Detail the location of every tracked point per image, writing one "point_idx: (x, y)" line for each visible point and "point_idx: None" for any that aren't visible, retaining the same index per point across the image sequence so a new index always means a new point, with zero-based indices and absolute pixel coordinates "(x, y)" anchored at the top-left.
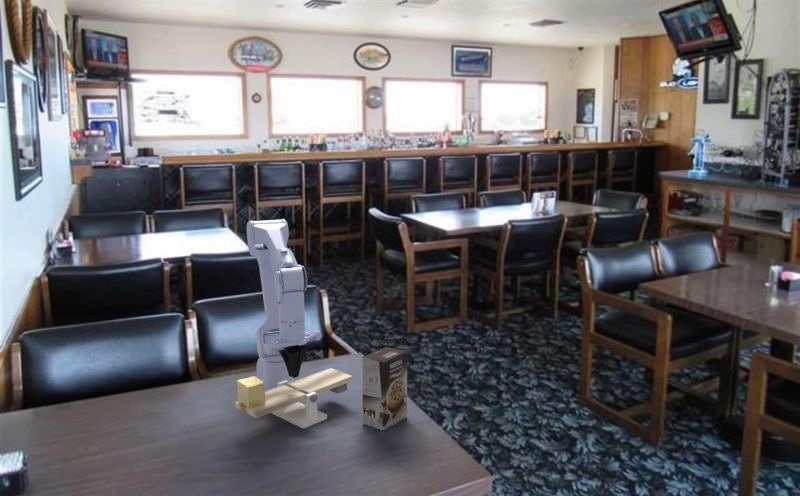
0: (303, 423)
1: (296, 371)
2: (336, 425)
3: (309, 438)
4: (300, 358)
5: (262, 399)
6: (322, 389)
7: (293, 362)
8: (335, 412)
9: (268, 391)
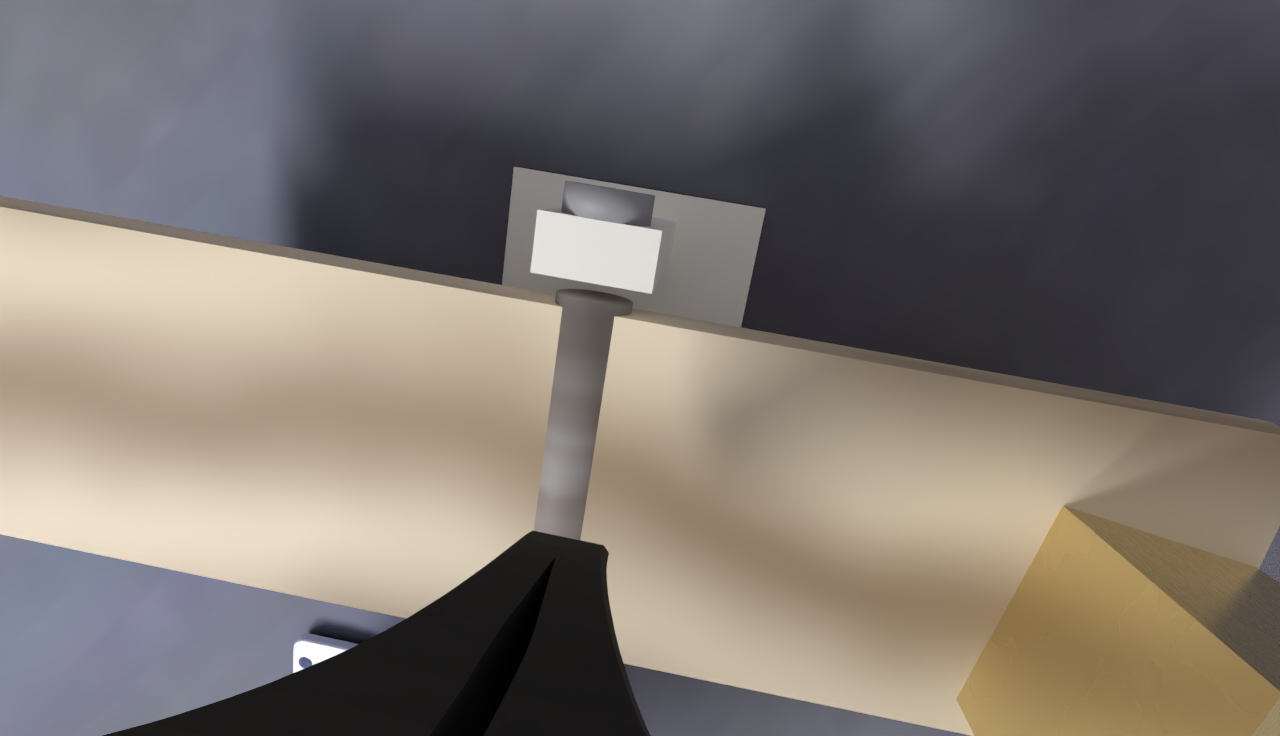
0: (748, 220)
1: (564, 573)
2: (568, 17)
3: (872, 44)
4: (404, 697)
5: (1137, 551)
6: (386, 271)
7: (620, 713)
8: (402, 190)
9: (776, 675)
